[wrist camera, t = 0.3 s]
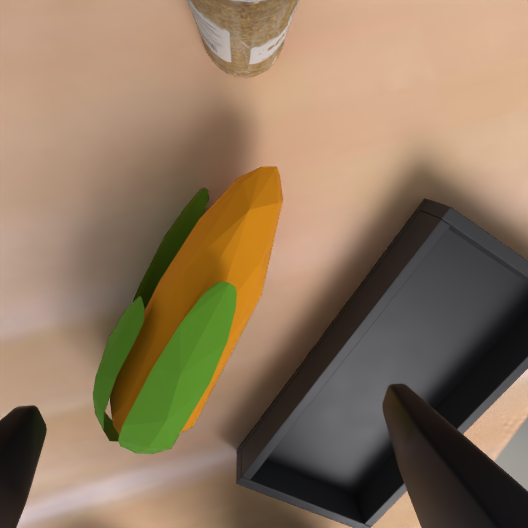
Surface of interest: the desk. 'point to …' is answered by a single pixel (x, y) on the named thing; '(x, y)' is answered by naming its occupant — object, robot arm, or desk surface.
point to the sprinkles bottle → (243, 32)
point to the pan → (394, 367)
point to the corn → (188, 314)
